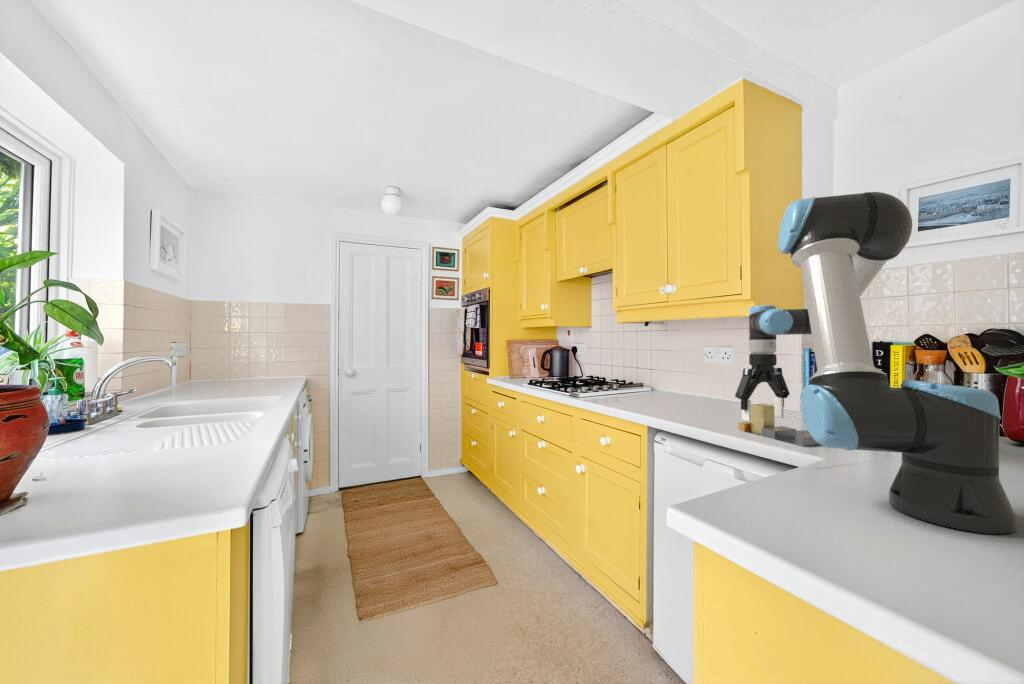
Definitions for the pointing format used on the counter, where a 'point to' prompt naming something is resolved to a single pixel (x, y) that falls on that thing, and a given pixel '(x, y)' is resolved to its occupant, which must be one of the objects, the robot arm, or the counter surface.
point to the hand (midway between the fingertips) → (762, 418)
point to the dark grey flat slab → (781, 434)
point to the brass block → (761, 417)
